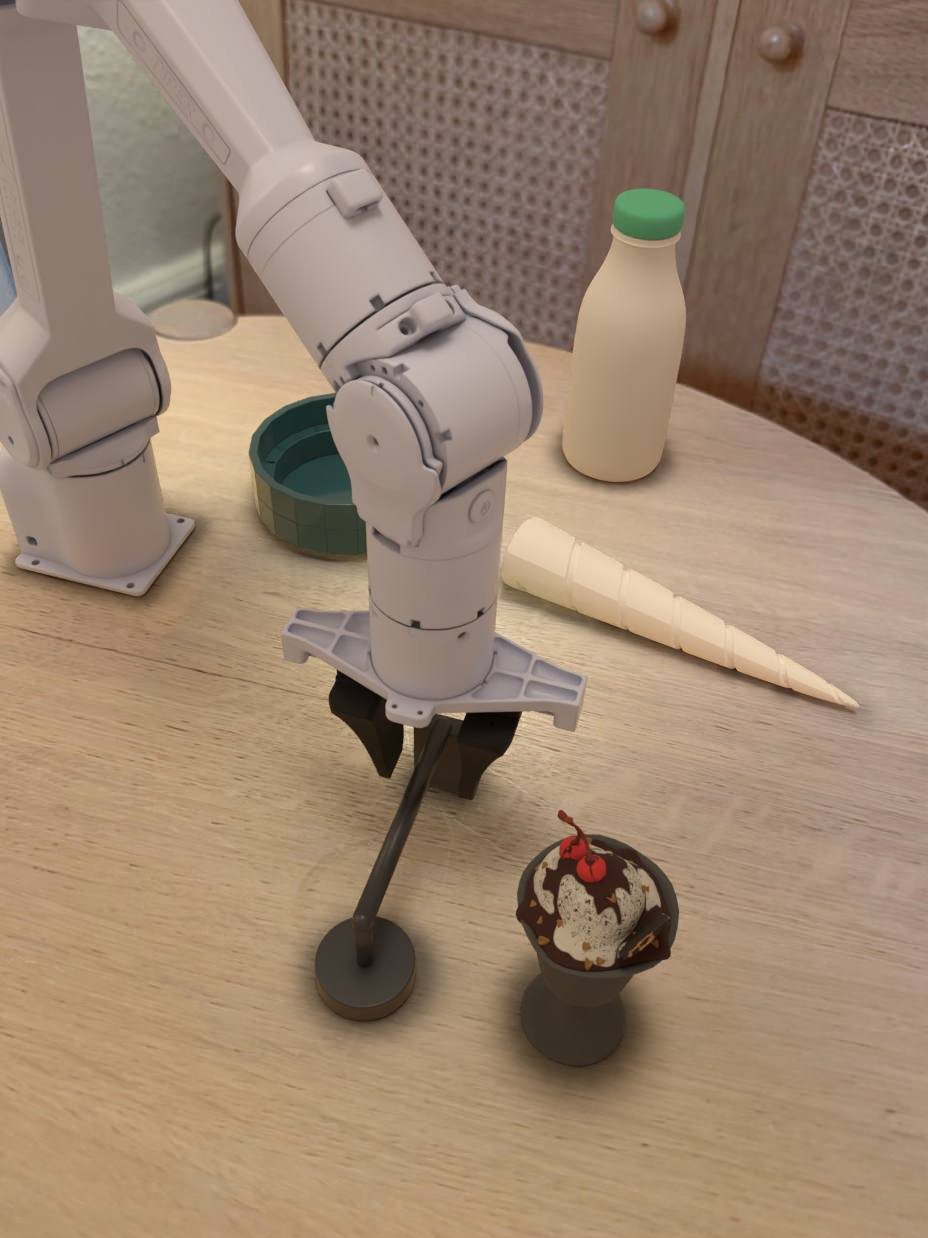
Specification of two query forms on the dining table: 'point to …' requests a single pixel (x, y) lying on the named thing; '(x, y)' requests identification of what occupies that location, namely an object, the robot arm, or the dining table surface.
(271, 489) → the bowl
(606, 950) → the sundae
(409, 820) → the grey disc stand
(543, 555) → the unicorn horn
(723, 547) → the dining table surface
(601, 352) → the milk bottle
